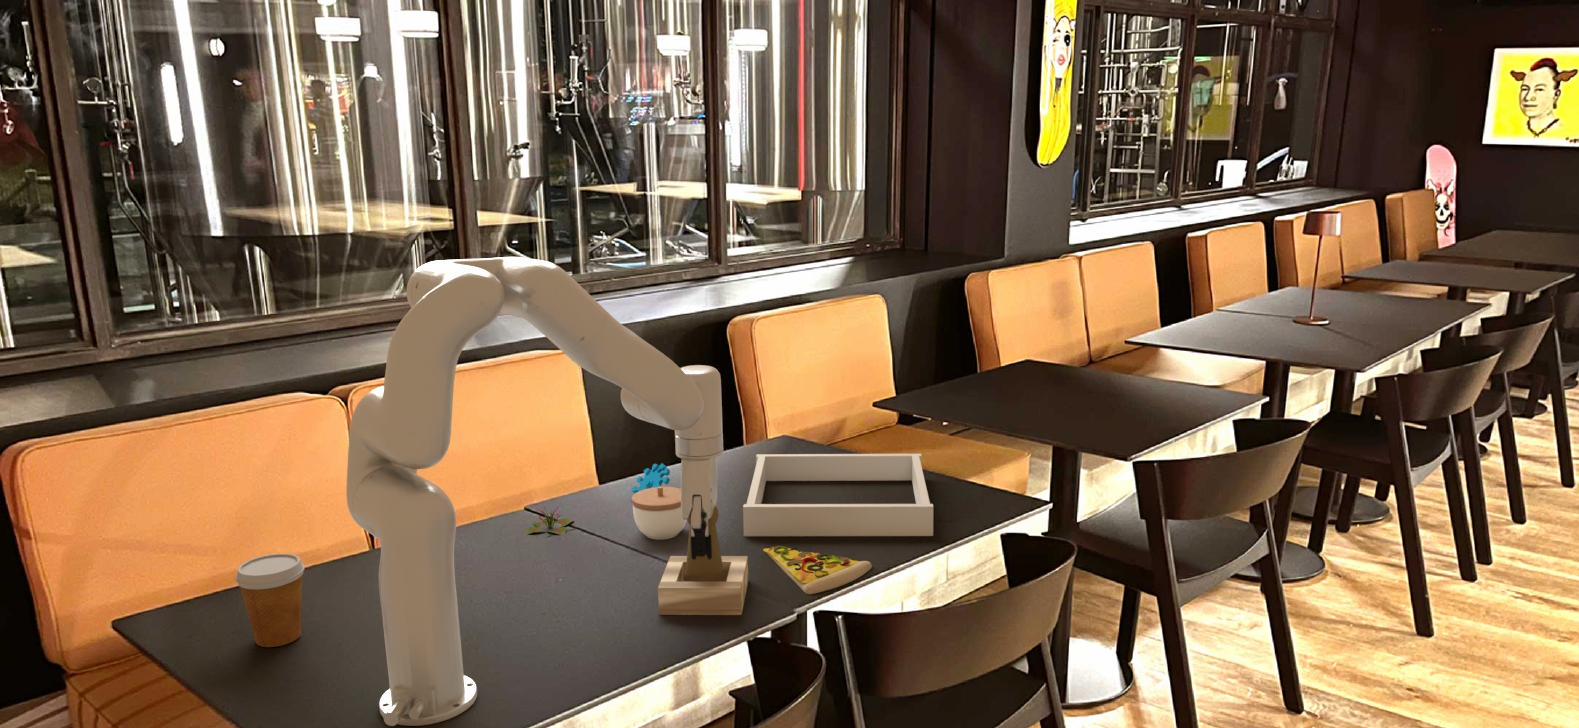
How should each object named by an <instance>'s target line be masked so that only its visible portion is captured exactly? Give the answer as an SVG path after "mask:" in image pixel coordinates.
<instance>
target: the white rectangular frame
mask: <svg viewBox="0 0 1579 728" xmlns="http://www.w3.org/2000/svg"><path fill="white" fill-rule="evenodd" d="M755 455H756V456H755V468H754V473H753V477H752V481H751V484H750V488H749V492H748V495H747V501H746V503H744V504H743V506H742V517H743V519H742V520H743V537H933V536H934V504H933V503H931V501H930V497H929V493H928V489H927V484H926V480H925V476H924V471H923V467H922V454H921V453H815V454H814V453H798V454H797V453H793V454H792V453H787V454H785V453H783V454H782V453H781V454H777V453H775V454H769V453H767V454H766V453H765V454H761V453H760V454H759V453H758V454H755ZM785 481H787V482H789V481H791V482H794V481H795V482H800V481H801V482H808V481H810V482H816V481H817V482H818V481H819V482H820V481H821V482H822V481H823V482H826V481H827V482H829V481H834V482H835V481H837V482H838V481H843V482H844V481H845V482H846V481H847V482H849V481H854V482H855V481H862V482H863V481H864V482H865V481H911V483H912V487H913V494H914V499H915V503H774V504H773V503H762V502H763V498H764V492H765V487H766V483H767V482H785Z"/></svg>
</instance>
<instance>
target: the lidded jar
mask: <svg viewBox="0 0 1579 728" xmlns="http://www.w3.org/2000/svg"><path fill="white" fill-rule="evenodd" d="M631 497H632V500H631V504H632V514H633V520H634V522H635V524H636V526H637V528H638V529H639V531H640V532H641V533H642V534H644V535H645V536H646V537H647V538H649V539H652V540H658V541H659V540H668V539H672V538H674V537H677V536H678V535H679V534H680V532H682V531H683V530H684V528H685V526H686V525H687V523H688V522H687V519H685V520H683V519H682V518H681V487H680V488H679V487H674V486H662V487H654V488H648V489H644V490H641V491H639V492H637V493H633V496H632V495H631Z"/></svg>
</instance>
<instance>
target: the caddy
mask: <svg viewBox="0 0 1579 728" xmlns="http://www.w3.org/2000/svg"><path fill="white" fill-rule="evenodd" d="M748 557H749V556H748V555H721V558H722V564H723V570H722V571H721V572H719V573H717V574H715V575H711V576H694V575H691V574H689V573H687V572H686V562H687V555H670V557H669V559H668V561H667V564H666V567H665V569H664V572H663V574H662V577H661V580H660V581H659V584H658V587H657V595H658V598H657V599H658V600H657V601H658V615H659V616H665V615H666V616H670V615H671V616H674V615H677V616H687V615H688V616H742V614H743V610H744V606H745V605H744V604H745V599H746V594H747V589H748V583H749V562H748V561H749V558H748Z"/></svg>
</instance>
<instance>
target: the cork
mask: <svg viewBox="0 0 1579 728" xmlns="http://www.w3.org/2000/svg"><path fill="white" fill-rule="evenodd" d="M705 516H706V514H702V517H705ZM719 516H720V514H719V509H718V508H717V505H716V506H715V508H714V512H713V515H712V517H711V518H710V519H709V535H711V544H712V558H711V559H710V560H709V559H708V557H707V555H706V554H705V556H703V557H699V556H697V557H696V559H695V560H693V559H692V555H691V511H690V514H689V517H688V518H686V519H687V523H688V524H689V530H688V532H689V533H688V541H687V551H686V556H687V562H686V572H687V573H689V574H691V575H694V576H711V575H715V574H717V573H719V572H721V571H722V570H723V564H722V558H721V556H722V553H721V547H720V541H719V536H718V529H717V525H716V524H717V522H718V519H719ZM702 524H704V526H705V521H702Z"/></svg>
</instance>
